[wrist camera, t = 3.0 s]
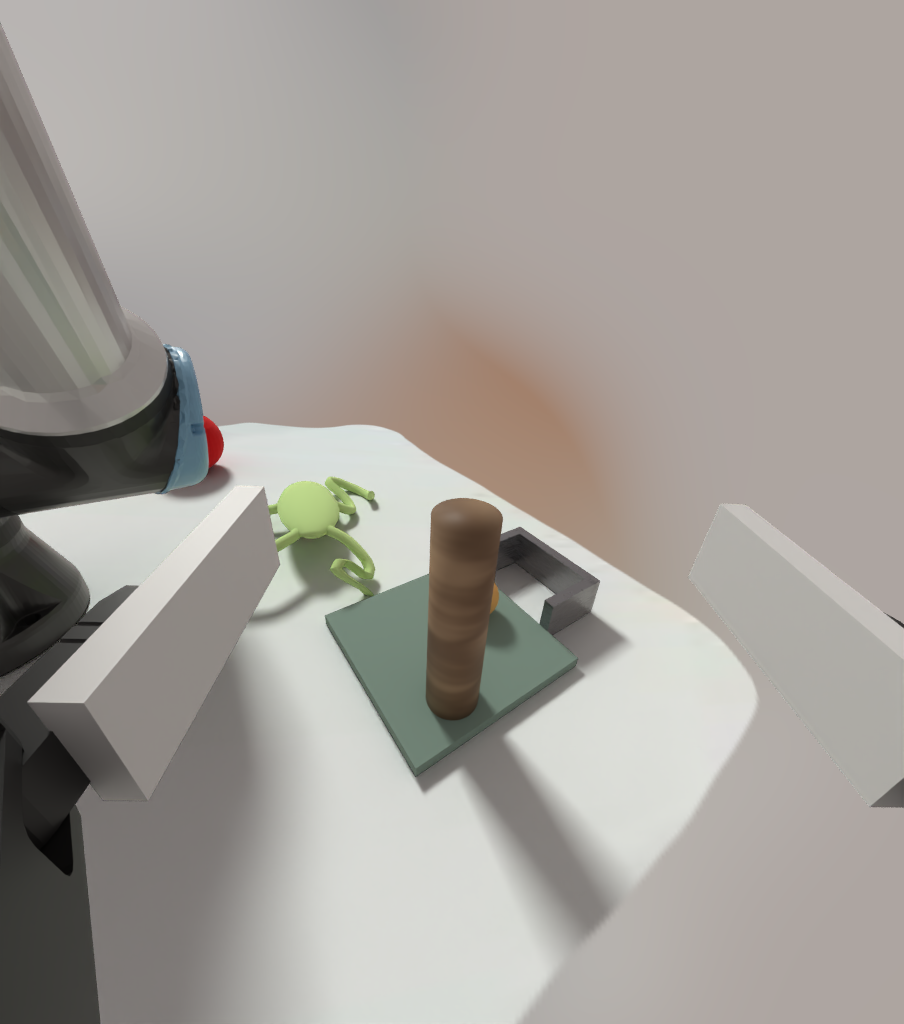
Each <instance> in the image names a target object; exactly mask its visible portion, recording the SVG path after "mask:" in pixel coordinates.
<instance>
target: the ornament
mask: <svg viewBox="0 0 904 1024" xmlns="http://www.w3.org/2000/svg"><path fill="white" fill-rule="evenodd" d="M203 420H204V425H203V426H204V428H205V432H206V438H207V446H208V458H209V467H208V468H210V467H212V466H213V465H214V464H215V463H216V462H217V461H218V460H219V458H220V457H221V455H222V452H223V447H224V442H223V437H222V434H221V432H220V430H219V428H218V427H217V426H216V425H215V424H214V423H213V422H212V421H211V420H210V419H208V418H207V417H205V416H203Z"/></svg>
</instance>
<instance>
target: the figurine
mask: <svg viewBox="0 0 904 1024" xmlns="http://www.w3.org/2000/svg"><path fill="white" fill-rule="evenodd" d="M325 485H326V486H327V488H328V489H329V490H331V491H332V492H333V493H334V494H335V495H337V496H338V497H339V498H340V499H341V500H342V502H343V503H344V504H343V503H340V502H338V501H336V499H335V498H334V496H333V495H332V494H331V492H330V491H329V490H328V489H327V488H325V487H324V486H322V485H321V484H318V483H315V482H309V481H301V482H296V483H294V484H291V485H289V486H288V487H287V488H286V489H285V490H284V491H283V493H282V494H281V496H280V498H279V500H278V503H277V504H274V505H269V506H268V508H269V513H270V515H272V514H277V513H278V514H279V517H280V519H281V521H282V523H283V524H284V525H285V526H286V527H287V528H288V529H289V530H290V532H289V533H287V534H285V535H284V536H282V537H280V538H278V539H276V540H275V542H276V547H277V552H279V551H281V550H282V549H284V548H286V547H287V546H289V545H291V544H293V543H294V542H296V541H297V540H298V539H300V538H301V537H303V538H307V539H315V538H320V537H322V536H324V535H328V536H330V537H332V538H334V539H336V540H338V541H340V542H341V543H342V544H344V545H345V546H346V547H347V548H348V549H349V550H351V551H352V552H353V553H354V554H355V555H356V557H357V558H358V559H359V560H360V561H361V563H362V565H363V567H364V570H363V569H362V568H361V567H359V566H358V565H356V564H355V563H353V562H352V561H350V560H346V559H335V560H334V562H333V564H332V566H331V568H330V571H331V572H332V573H333V574H334V575H335V576H336V577H337V578H339V579H341V580H343V581H345V582H347V583H348V584H350V585H352V586H354V587H356V588H358V589H359V590H360V591H361V592H362V593H363V594H364V595H369V596H374V595H373V593H372V592H371V591H370V590H369V589H368V588H367V587H365V586H364V585H362V584H361V583H359V582H358V581H356V580H355V579H353V578H352V577H350V576H349V575H348V574H347V573H346V572H345V571H344V570H343V567H346V568H348V569H349V570H351V571H352V572H354V573H355V574H356V575H357V576H359V577H360V578H362V579H373V576H374V571H375V567H374V564H373V561H372V559H371V558H370V556H369V555H368V554H367V552H366V551H365V550H364V549H363V548H362V547H361V546H360V545H359V544H358V543H357V542H356V541H355V540H354V539H353V538H352V537H350V536H349V535H348V534H346V533H345V532H343V531H341V530H339V529H337V528H335V527H334V526H335V525H336V523H337V521H338V519H339V512H341V513H344V514H347V515H350V514H354V513H355V512H356V507H355V505H354V503H353V501H352V500H351V498H350V497H349V496H348V494H347V493H346V492H345V491H344V490H343V489H346V490H348V491H351V492H353V493H356V494H358V495H360V496H362V497H364V498H365V499H368V500H372V499H373V498H374V496H375V494H374V492H373V491H367V490H365V489H363V488H361V487H359V486H357V485H355V484H352V483H350V482H347V481H345V480H343V479H340V478H336V477H328V478H327V480H326V481H325ZM340 487H341V488H343V489H341V488H340Z"/></svg>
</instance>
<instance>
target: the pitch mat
mask: <svg viewBox="0 0 904 1024" xmlns="http://www.w3.org/2000/svg"><path fill="white" fill-rule="evenodd" d="M498 591H499V601H498V604H497V606H496V608H495V610H494V611H493V612H492V613H491V614H490V617H489V624H488V632H487V639H486V646H485V654H484V661H483V668H482V676H481V683H480V690H479V698H478V703H477V706H476V708H475V710H474V711H473V712H472V713H471V714H470V715H469V716H467V717H466V718H463V719H460V720H445V719H442V718H440V717H438V716H437V715H435V714H434V713H433V712H432V711H431V710H430V708H429V707H428V705H427V702H426V667H427V634H428V601H429V574H427V575H425V576H422V577H420V578H417V579H415V580H412V581H410V582H407V583H405V584H402V585H400V586H397V587H395V588H392V589H390V590H387V591H385V592H382V593H380V594H377V595H375V596H372V597H370V598H367V599H365V600H362V601H360V602H357V603H355V604H352V605H350V606H347V607H345V608H342V609H340V610H338V611H335V612H333V613H330V614H328V615H325V619H326V624H327V626H328V627H329V629H330V631H331V633H332V634H333V636H334V638H335V639H336V641H337V643H338V645H339V646H340V648H341V650H342V651H343V653H344V655H345V657H346V658H347V660H348V662H349V663H350V665H351V667H352V669H353V670H354V672H355V674H356V675H357V677H358V679H359V681H360V682H361V684H362V686H363V687H364V689H365V691H366V693H367V694H368V696H369V698H370V699H371V701H372V703H373V705H374V706H375V708H376V710H377V711H378V713H379V715H380V717H381V718H382V720H383V722H384V723H385V725H386V727H387V729H388V730H389V732H390V734H391V735H392V737H393V739H394V741H395V742H396V744H397V746H398V747H399V749H400V751H401V753H402V754H403V756H404V758H405V759H406V761H407V763H408V765H409V766H410V768H411V770H412V771H413V773H414V775H415V777H416V776H418V775H419V774H420V773H422V772H423V771H425V770H426V769H428V768H429V767H431V766H432V765H433V764H435V763H436V762H438V761H439V760H441V759H442V758H444V757H445V756H446V755H448V754H449V753H451V752H452V751H454V750H455V749H456V748H458V747H459V746H461V745H462V744H464V743H465V742H467V741H468V740H469V739H471V738H472V737H474V736H475V735H477V734H478V733H480V732H481V731H482V730H484V729H485V728H487V727H488V726H490V725H491V724H492V723H494V722H495V721H497V720H498V719H500V718H501V717H503V716H504V715H505V714H507V713H508V712H510V711H511V710H513V709H514V708H516V707H517V706H518V705H520V704H521V703H523V702H524V701H526V700H527V699H529V698H530V697H531V696H533V695H534V694H536V693H537V692H539V691H540V690H541V689H543V688H544V687H546V686H547V685H549V684H550V683H552V682H553V681H554V680H556V679H557V678H559V677H560V676H562V675H563V674H565V673H566V672H567V671H569V670H570V669H572V668H573V667H575V666H576V663H577V660H578V658H577V657H576V656H575V655H574V654H573V653H572V652H571V651H569V650H568V649H567V648H566V647H565V646H564V645H563V644H561V643H560V642H559V641H558V640H557V639H556V638H554V637H553V636H552V635H551V634H550V633H549V632H548V631H546V630H545V629H544V628H543V627H542V626H541V625H540V624H538V623H537V622H536V621H535V620H534V619H533V618H532V617H530V616H529V615H528V614H527V613H526V612H525V611H524V610H522V609H521V608H520V607H519V606H518V605H517V604H515V603H514V602H513V601H512V600H511V599H510V598H509V597H507V596H506V595H505V594H504V593H503V592H502V591H501V590H499V589H498Z"/></svg>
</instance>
